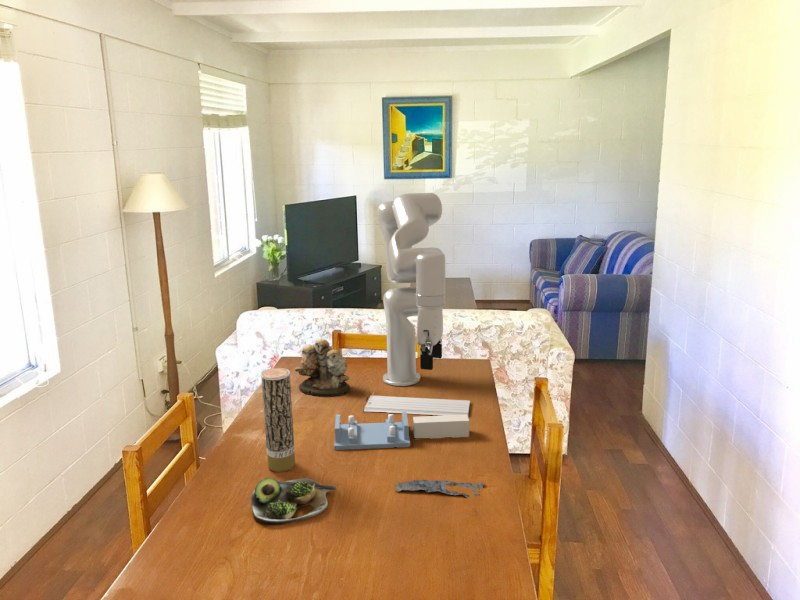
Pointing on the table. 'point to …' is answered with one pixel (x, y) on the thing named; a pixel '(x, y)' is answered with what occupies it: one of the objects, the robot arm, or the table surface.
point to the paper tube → (278, 419)
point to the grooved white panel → (416, 405)
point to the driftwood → (436, 486)
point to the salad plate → (287, 499)
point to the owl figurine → (323, 370)
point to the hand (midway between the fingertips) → (431, 363)
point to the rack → (371, 434)
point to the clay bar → (441, 426)
